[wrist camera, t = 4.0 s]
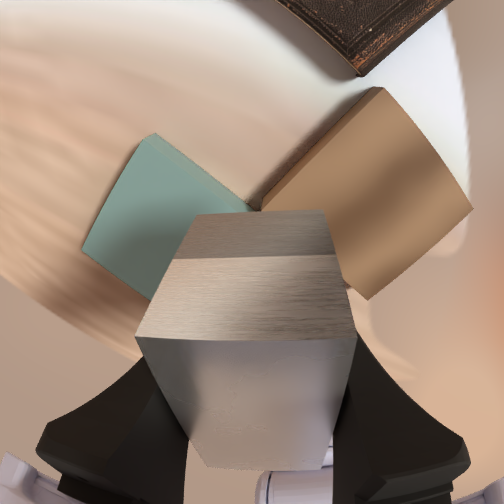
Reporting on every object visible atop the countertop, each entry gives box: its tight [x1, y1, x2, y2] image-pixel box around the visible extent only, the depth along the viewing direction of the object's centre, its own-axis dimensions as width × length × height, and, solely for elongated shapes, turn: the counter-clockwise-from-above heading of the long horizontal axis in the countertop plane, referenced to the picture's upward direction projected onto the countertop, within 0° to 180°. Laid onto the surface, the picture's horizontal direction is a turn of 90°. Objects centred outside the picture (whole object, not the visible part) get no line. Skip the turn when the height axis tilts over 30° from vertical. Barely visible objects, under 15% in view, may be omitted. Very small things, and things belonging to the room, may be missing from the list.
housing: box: [135, 209, 358, 471], centre depth 10 cm, size 8×4×6 cm, turn 5°
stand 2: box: [261, 86, 473, 301], centre depth 18 cm, size 10×10×2 cm
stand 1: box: [81, 133, 256, 301], centre depth 21 cm, size 10×10×2 cm
